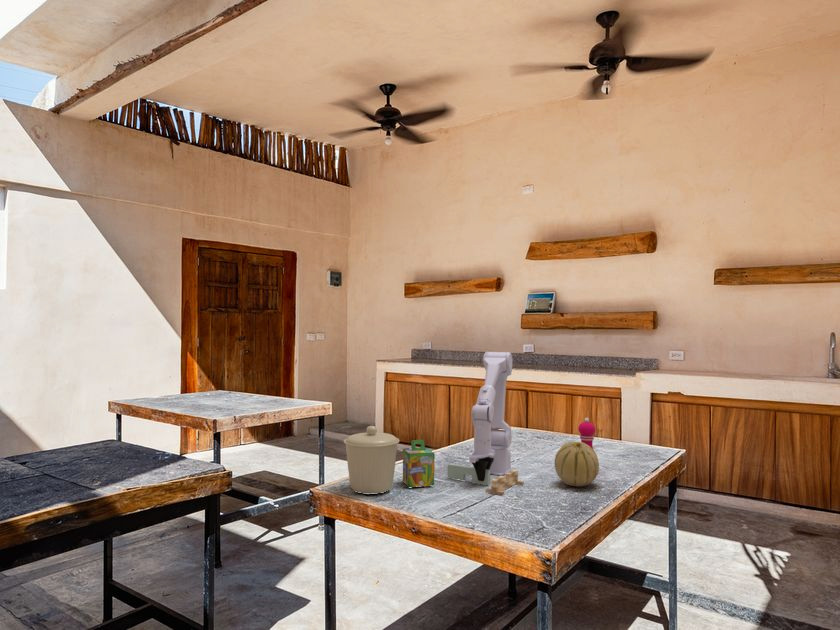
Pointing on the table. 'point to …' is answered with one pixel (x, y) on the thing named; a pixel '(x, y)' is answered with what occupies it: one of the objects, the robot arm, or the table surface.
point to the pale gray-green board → (466, 473)
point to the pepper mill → (587, 432)
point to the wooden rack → (504, 482)
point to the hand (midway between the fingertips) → (482, 480)
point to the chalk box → (418, 465)
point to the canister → (371, 460)
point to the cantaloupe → (576, 464)
